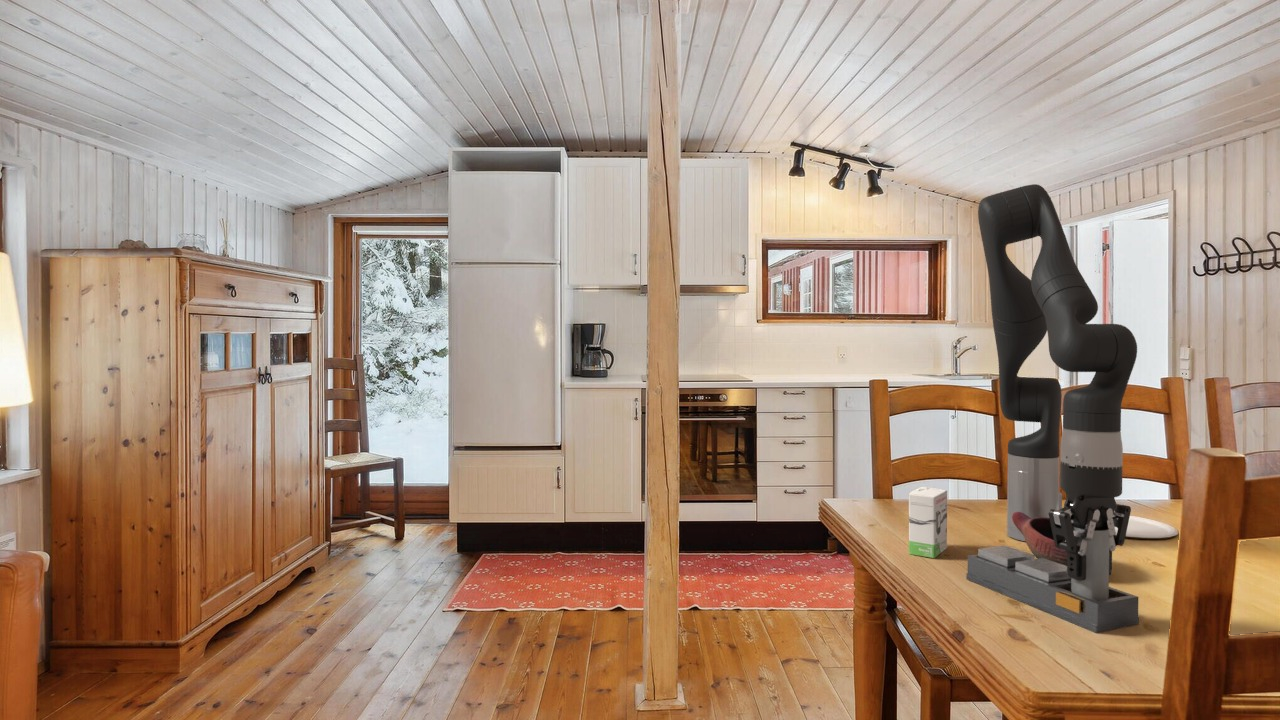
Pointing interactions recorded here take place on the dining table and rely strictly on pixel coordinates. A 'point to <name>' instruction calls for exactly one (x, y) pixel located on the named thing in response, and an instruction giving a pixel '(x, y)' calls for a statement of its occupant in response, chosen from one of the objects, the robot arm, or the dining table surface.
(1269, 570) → the dining table surface
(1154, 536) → the plate
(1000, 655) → the dining table surface
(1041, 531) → the bowl
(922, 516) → the ink box
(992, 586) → the grey compartment tray
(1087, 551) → the gray cylinder
